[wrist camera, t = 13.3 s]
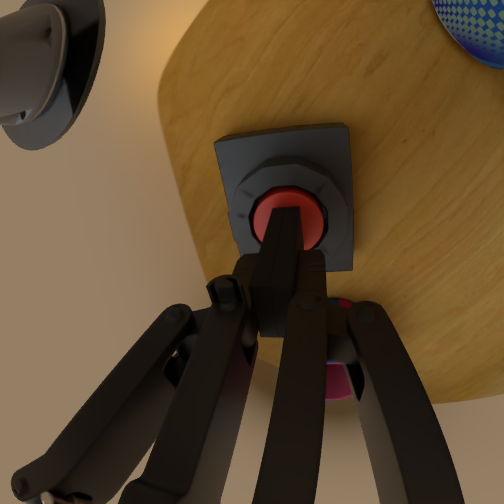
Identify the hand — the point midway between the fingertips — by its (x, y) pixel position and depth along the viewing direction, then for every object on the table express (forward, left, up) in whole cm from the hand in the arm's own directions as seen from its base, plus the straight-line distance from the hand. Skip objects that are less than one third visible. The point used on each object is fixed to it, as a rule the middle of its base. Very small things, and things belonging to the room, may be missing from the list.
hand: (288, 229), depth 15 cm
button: (0, 0, -2) cm, 2 cm away
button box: (0, 0, -5) cm, 5 cm away
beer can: (+1, +21, -5) cm, 22 cm away
